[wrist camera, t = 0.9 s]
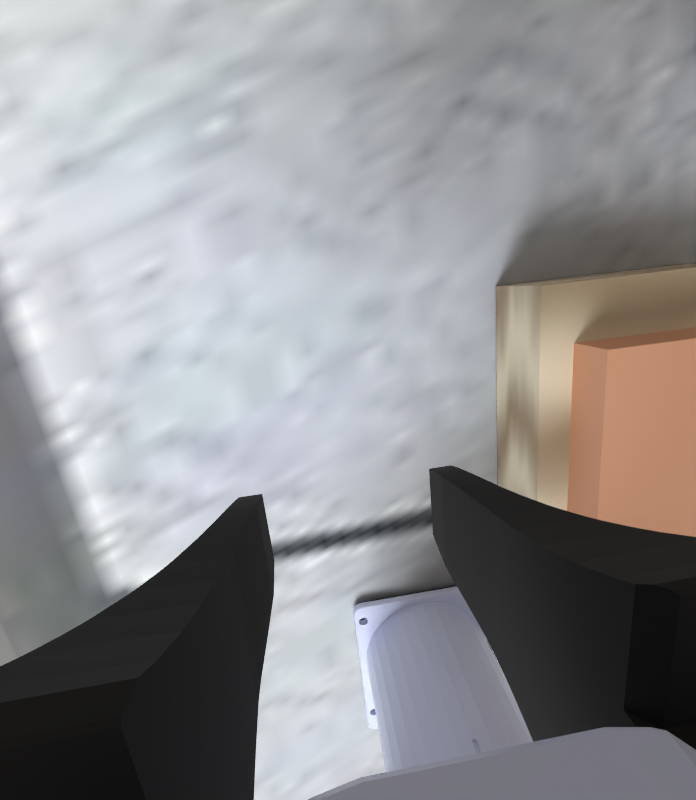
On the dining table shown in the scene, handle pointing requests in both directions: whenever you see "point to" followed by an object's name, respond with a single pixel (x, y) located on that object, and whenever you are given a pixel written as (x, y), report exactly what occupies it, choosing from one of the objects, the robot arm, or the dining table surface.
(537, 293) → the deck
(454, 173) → the dining table surface
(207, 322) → the dining table surface
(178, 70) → the dining table surface
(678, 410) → the block
